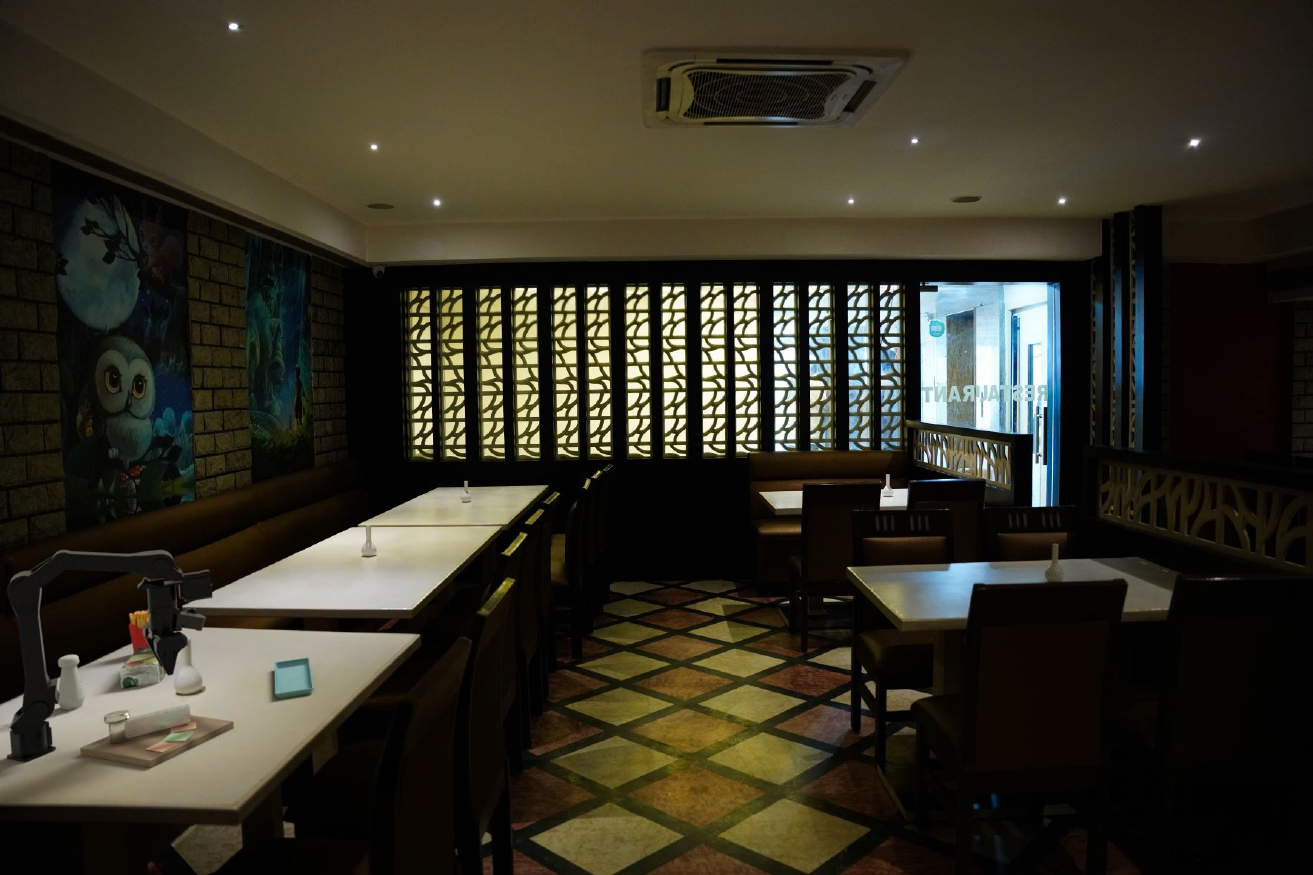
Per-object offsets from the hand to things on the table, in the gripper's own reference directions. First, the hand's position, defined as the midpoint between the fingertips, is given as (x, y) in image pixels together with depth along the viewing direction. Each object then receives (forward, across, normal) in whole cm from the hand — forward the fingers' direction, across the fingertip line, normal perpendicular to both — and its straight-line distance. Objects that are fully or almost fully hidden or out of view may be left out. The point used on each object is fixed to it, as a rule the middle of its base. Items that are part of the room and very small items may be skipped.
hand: (166, 670), depth 195 cm
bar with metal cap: (+11, -7, +5) cm, 14 cm away
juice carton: (+14, +45, -2) cm, 47 cm away
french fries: (+13, +68, -6) cm, 69 cm away
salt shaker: (+13, +31, +16) cm, 37 cm away
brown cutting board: (+13, -9, +4) cm, 16 cm away
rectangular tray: (+14, +10, -31) cm, 35 cm away
